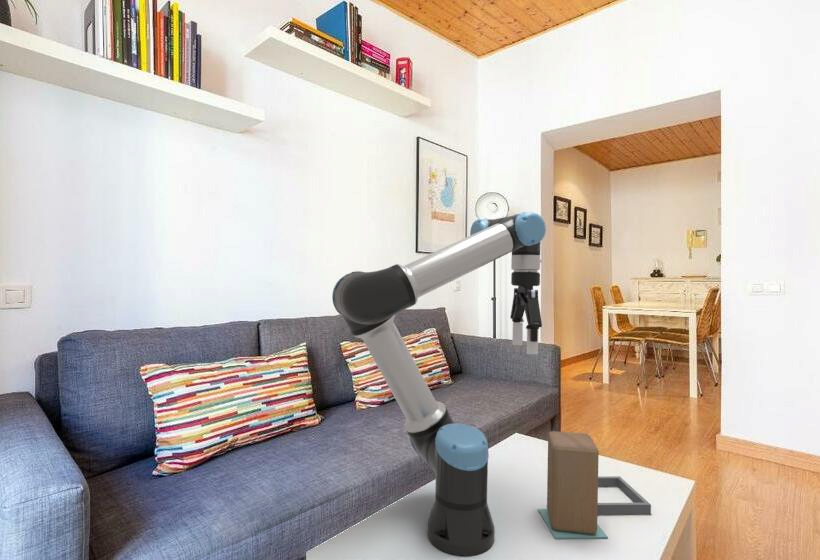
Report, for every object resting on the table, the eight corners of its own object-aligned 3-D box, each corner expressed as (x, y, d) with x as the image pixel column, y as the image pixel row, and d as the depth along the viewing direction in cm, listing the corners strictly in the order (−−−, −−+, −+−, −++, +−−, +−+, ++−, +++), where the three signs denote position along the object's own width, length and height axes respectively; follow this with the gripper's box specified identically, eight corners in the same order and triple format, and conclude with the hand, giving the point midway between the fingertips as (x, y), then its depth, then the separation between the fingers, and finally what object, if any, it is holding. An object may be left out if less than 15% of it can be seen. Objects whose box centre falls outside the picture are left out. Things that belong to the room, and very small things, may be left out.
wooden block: (588, 512, 109) (590, 432, 108) (598, 536, 99) (599, 448, 98) (546, 508, 111) (547, 429, 110) (551, 531, 101) (553, 444, 100)
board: (555, 539, 98) (555, 537, 98) (537, 510, 110) (537, 508, 110) (607, 538, 99) (607, 536, 99) (584, 509, 111) (584, 508, 111)
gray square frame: (591, 515, 108) (591, 505, 108) (567, 485, 123) (567, 476, 123) (650, 514, 109) (650, 504, 109) (619, 485, 124) (619, 476, 124)
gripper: (556, 271, 107) (554, 358, 107) (525, 271, 132) (524, 342, 132) (525, 271, 107) (524, 358, 107) (500, 271, 132) (499, 341, 132)
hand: (524, 349), depth 120 cm, fingers open, 13 cm apart
